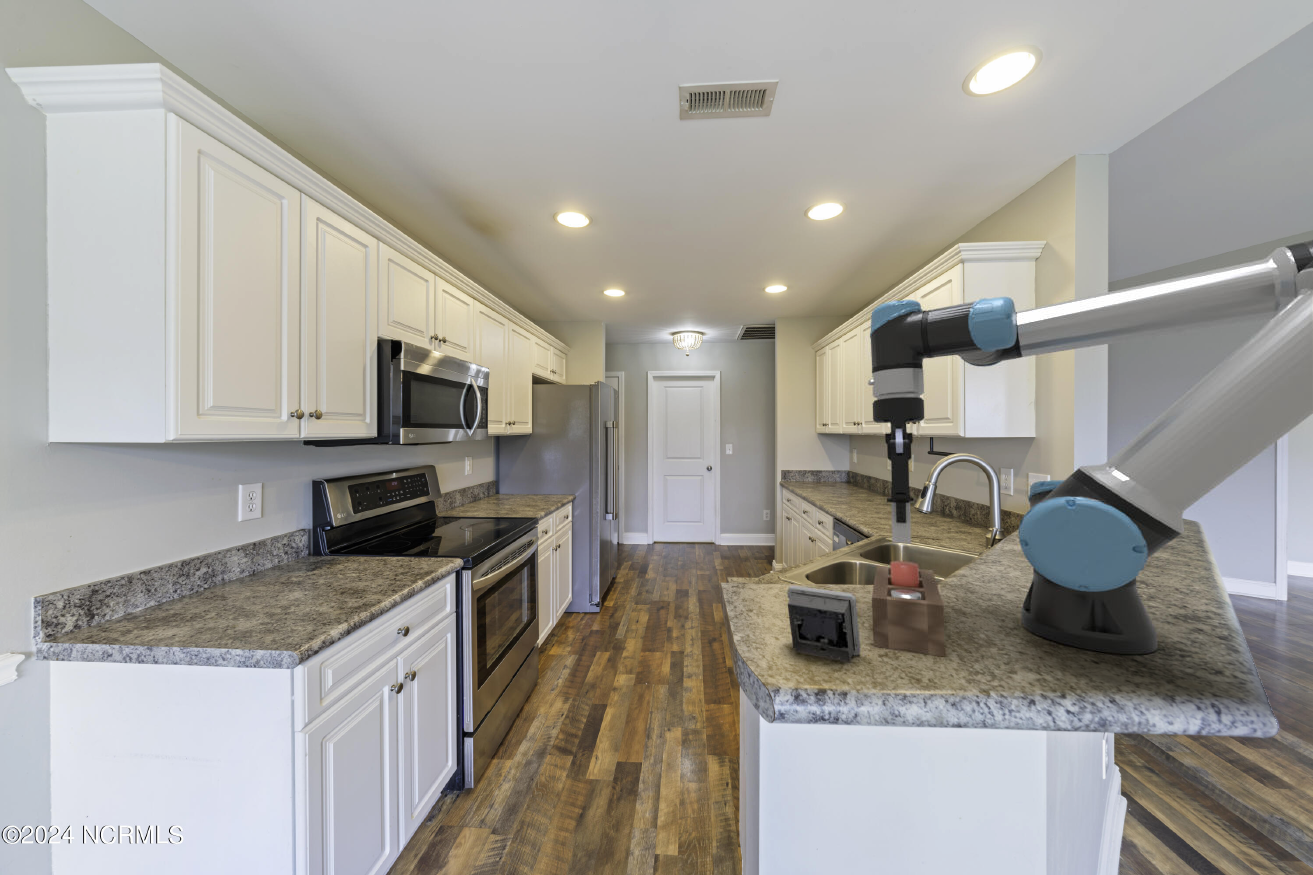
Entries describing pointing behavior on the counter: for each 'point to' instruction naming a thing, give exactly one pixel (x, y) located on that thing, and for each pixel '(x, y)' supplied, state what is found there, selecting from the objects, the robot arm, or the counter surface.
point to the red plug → (904, 574)
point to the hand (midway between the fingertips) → (901, 541)
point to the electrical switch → (823, 622)
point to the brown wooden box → (908, 615)
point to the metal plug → (906, 594)
